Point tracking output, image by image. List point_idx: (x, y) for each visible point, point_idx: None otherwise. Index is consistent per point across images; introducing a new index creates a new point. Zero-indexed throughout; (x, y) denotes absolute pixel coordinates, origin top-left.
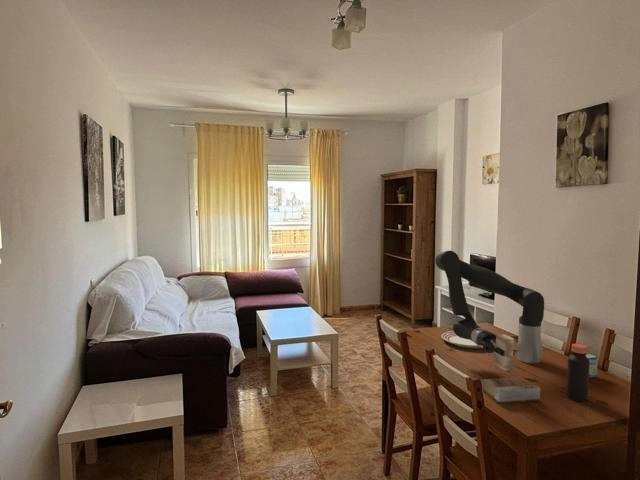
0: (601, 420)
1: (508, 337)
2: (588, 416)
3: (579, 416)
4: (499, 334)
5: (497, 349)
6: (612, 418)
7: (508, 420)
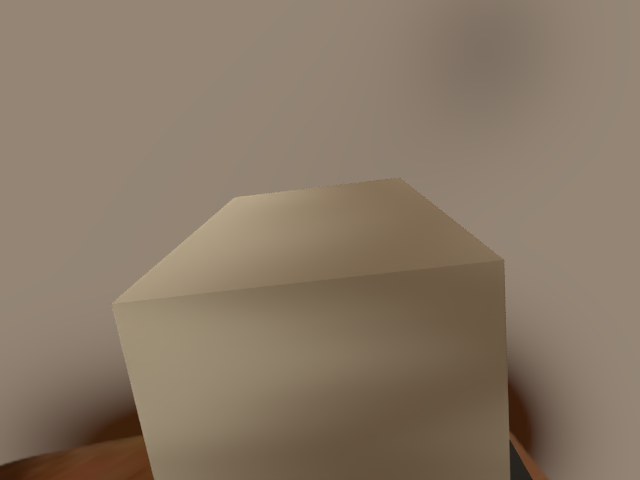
0: (100, 449)
1: (264, 210)
2: (111, 474)
3: (150, 475)
4: (356, 270)
5: (515, 461)
6: (36, 460)
7: (520, 451)
